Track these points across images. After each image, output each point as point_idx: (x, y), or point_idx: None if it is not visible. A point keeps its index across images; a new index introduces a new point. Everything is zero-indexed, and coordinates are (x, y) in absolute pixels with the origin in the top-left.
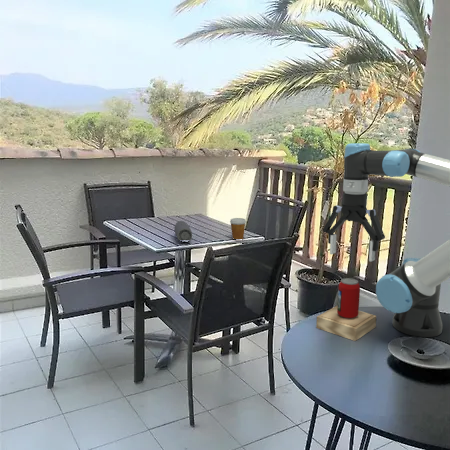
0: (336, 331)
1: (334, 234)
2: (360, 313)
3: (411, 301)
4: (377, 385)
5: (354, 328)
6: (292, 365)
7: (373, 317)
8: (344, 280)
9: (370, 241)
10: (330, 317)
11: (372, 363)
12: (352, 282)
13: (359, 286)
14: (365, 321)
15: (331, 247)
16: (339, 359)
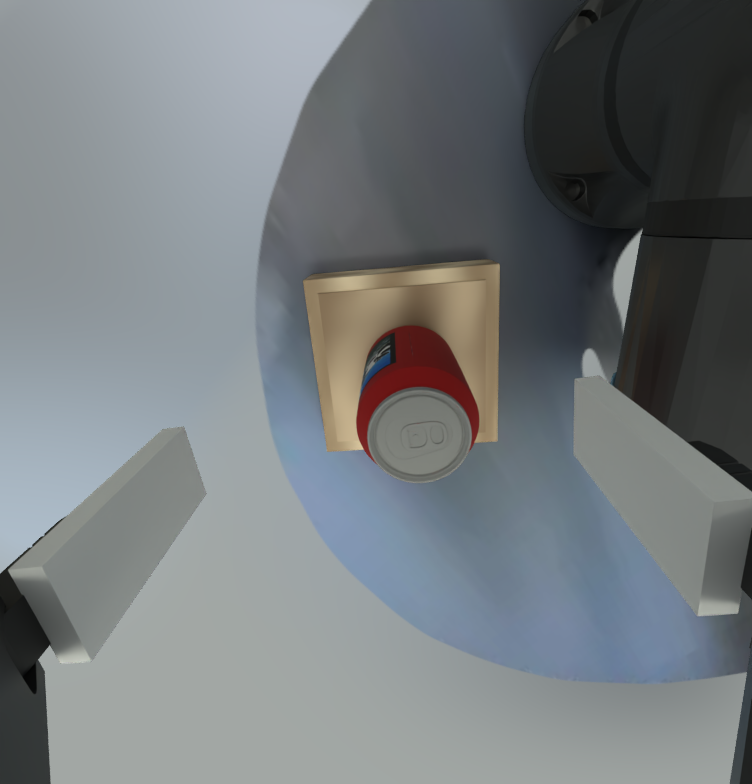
0: None
1: (50, 604)
2: (437, 304)
3: None
4: (645, 576)
5: (490, 441)
6: (436, 631)
7: (497, 292)
8: (386, 442)
9: (701, 613)
10: None
11: (593, 500)
12: (444, 444)
13: (475, 408)
14: (491, 356)
15: (167, 537)
16: (509, 540)
